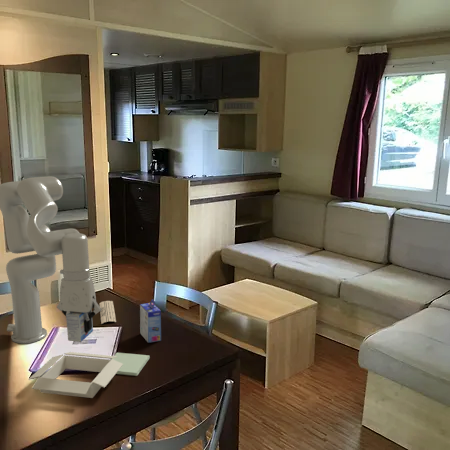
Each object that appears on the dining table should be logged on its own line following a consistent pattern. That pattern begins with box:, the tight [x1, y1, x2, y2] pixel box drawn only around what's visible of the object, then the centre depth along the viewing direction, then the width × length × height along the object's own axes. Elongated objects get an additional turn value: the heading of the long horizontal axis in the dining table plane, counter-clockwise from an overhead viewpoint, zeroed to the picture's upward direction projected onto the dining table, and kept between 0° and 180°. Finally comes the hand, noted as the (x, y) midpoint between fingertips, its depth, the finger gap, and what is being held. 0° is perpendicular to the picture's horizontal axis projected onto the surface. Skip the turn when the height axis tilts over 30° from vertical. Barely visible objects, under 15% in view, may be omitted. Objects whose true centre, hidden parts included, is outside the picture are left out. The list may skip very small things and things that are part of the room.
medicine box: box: [65, 312, 94, 343], centre depth 147 cm, size 8×4×9 cm, turn 167°
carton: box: [28, 351, 123, 399], centre depth 149 cm, size 25×23×5 cm
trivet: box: [110, 352, 151, 377], centre depth 160 cm, size 12×12×1 cm
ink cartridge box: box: [139, 299, 162, 344], centre depth 180 cm, size 10×6×14 cm, turn 27°
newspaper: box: [98, 300, 117, 325], centre depth 205 cm, size 24×7×2 cm, turn 16°
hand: (80, 329), depth 148 cm, fingers closed on medicine box, 4 cm apart
